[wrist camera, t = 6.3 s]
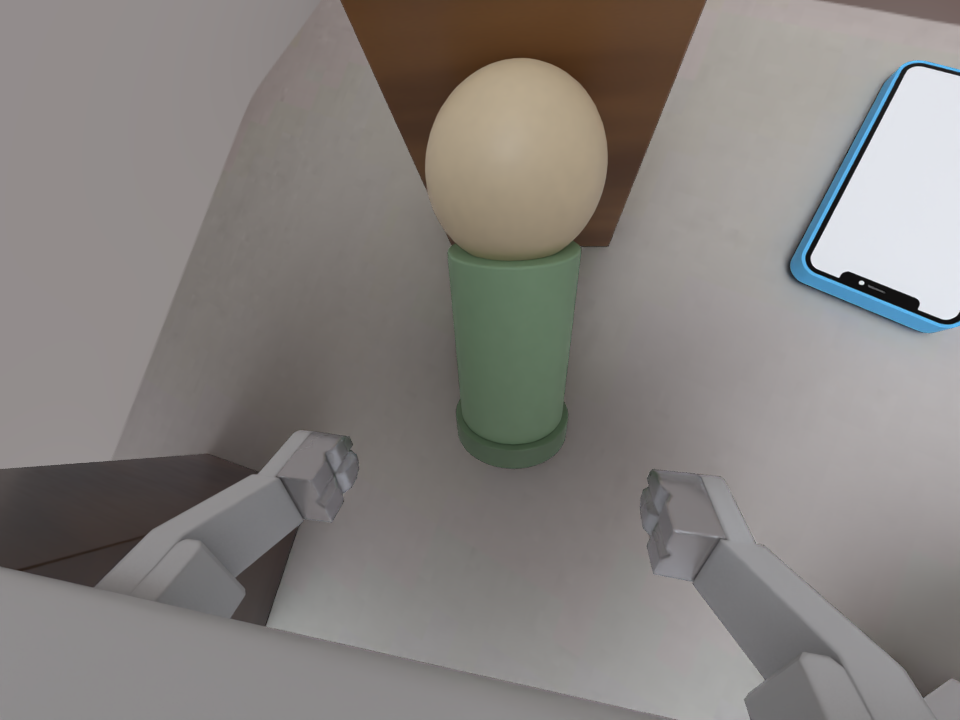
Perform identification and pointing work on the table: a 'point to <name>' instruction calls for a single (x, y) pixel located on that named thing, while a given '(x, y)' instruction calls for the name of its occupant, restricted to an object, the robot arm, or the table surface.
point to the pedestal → (118, 518)
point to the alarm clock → (945, 701)
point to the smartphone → (896, 207)
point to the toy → (514, 247)
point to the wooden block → (542, 36)
